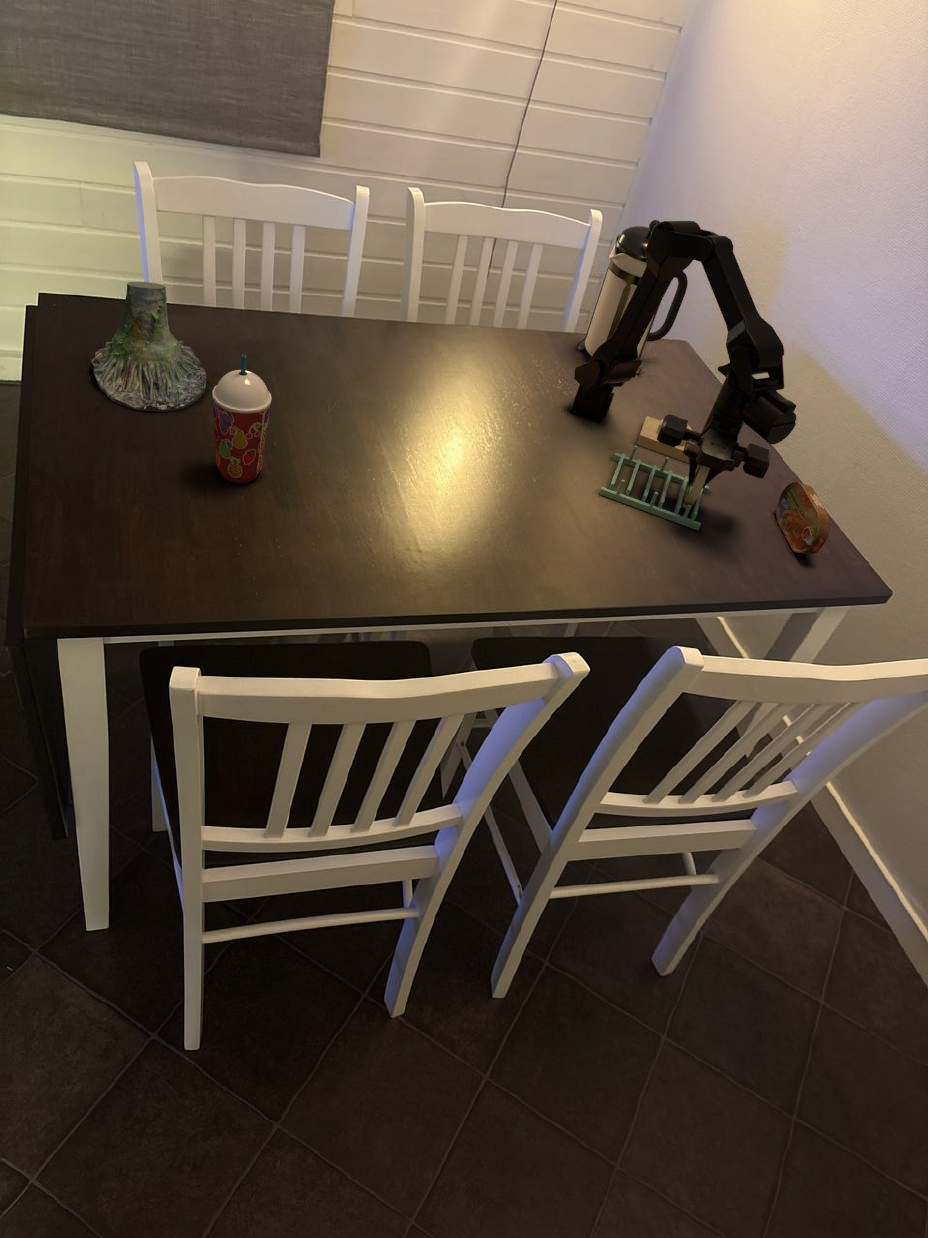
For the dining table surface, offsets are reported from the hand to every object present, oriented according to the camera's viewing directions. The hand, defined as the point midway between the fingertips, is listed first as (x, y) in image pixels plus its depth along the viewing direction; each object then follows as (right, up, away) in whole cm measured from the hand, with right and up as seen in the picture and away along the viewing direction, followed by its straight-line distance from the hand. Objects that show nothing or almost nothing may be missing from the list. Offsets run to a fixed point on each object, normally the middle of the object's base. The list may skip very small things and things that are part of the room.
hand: (694, 486), depth 156 cm
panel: (-1, +10, +16) cm, 19 cm away
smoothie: (-75, 0, -17) cm, 77 cm away
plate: (-1, -2, +2) cm, 3 cm away
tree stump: (-94, +18, -4) cm, 95 cm away
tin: (+18, -9, +3) cm, 20 cm away
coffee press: (-8, +33, +38) cm, 51 cm away
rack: (-6, -1, +3) cm, 7 cm away
